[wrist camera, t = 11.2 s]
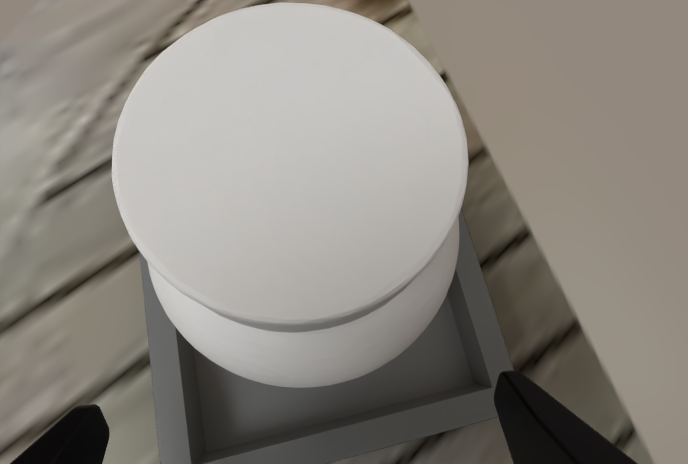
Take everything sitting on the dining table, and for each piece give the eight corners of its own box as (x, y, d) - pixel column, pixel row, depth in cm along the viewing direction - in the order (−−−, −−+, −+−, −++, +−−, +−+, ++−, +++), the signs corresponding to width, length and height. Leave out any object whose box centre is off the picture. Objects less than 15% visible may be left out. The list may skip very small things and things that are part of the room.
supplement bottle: (366, 200, 19) (453, -83, 6) (409, 342, 17) (639, 324, 5) (222, 234, 18) (8, -17, 6) (253, 387, 16) (45, 508, 4)
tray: (497, 401, 17) (526, 409, 15) (188, 483, 16) (164, 507, 13) (415, 134, 21) (428, 106, 18) (154, 181, 19) (130, 157, 17)
